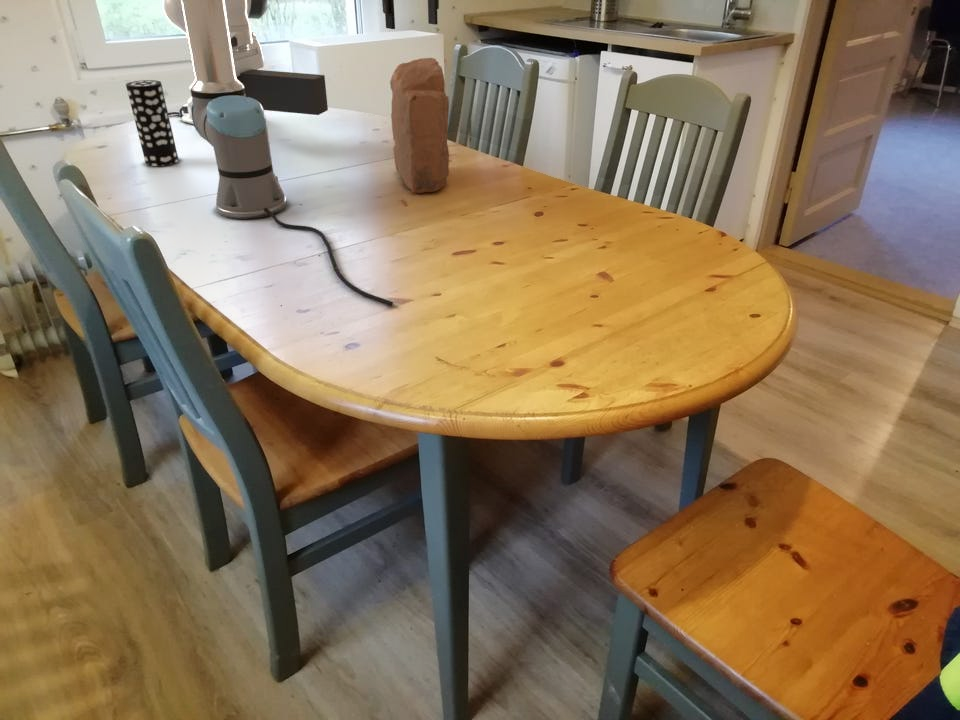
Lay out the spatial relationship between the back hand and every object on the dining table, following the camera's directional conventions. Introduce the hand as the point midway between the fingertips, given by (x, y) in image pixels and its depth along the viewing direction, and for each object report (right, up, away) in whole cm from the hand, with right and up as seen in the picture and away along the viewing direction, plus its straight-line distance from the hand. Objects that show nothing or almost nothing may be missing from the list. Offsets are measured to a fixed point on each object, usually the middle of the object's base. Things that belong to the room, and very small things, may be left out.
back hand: (243, 91), depth 190 cm
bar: (+10, -5, 0) cm, 11 cm away
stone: (+51, -28, -14) cm, 60 cm away
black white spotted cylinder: (-21, -12, -9) cm, 26 cm away
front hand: (+49, +9, -18) cm, 53 cm away
